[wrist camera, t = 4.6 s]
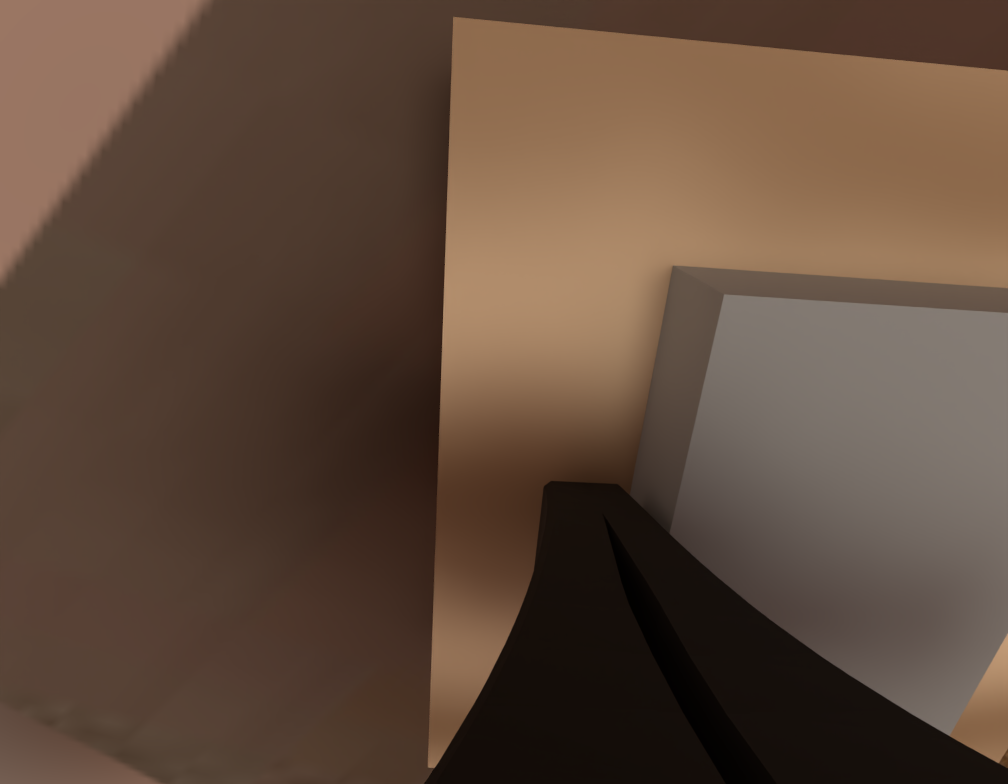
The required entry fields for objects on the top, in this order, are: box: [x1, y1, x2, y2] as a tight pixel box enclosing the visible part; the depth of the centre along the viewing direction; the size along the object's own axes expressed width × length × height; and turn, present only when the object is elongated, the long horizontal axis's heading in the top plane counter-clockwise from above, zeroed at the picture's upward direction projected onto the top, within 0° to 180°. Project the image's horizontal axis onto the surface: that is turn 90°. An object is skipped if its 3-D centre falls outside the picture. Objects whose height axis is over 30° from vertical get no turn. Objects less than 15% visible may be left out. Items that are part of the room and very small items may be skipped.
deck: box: [428, 17, 1008, 768], centre depth 12 cm, size 15×14×4 cm
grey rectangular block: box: [630, 265, 1008, 736], centre depth 9 cm, size 9×6×2 cm, turn 176°
